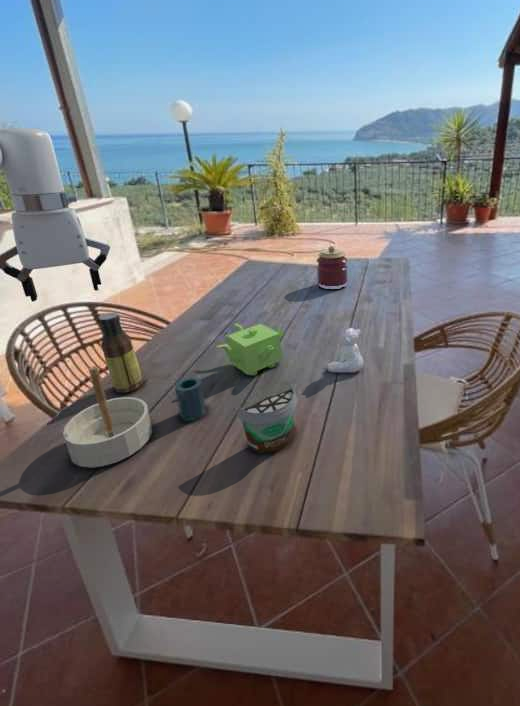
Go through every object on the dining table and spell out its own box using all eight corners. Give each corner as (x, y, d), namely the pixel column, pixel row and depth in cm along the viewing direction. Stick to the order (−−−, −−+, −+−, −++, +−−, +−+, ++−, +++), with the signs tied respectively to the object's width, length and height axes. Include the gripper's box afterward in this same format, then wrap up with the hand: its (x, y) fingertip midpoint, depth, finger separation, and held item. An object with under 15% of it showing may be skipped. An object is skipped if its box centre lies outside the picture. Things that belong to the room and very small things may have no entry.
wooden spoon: (109, 445, 78) (88, 372, 72) (108, 438, 80) (88, 366, 74) (117, 442, 78) (97, 369, 72) (116, 435, 80) (97, 363, 74)
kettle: (221, 381, 100) (215, 342, 96) (235, 353, 113) (230, 318, 110) (280, 379, 101) (276, 340, 97) (286, 352, 114) (284, 317, 110)
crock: (176, 420, 86) (170, 389, 83) (189, 405, 90) (184, 376, 88) (197, 422, 85) (192, 391, 82) (210, 408, 90) (205, 378, 87)
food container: (255, 468, 73) (249, 424, 69) (241, 449, 77) (236, 407, 74) (310, 438, 80) (308, 397, 77) (295, 423, 85) (292, 384, 81)
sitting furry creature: (344, 356, 112) (343, 318, 108) (370, 363, 108) (371, 324, 104) (326, 371, 104) (324, 331, 100) (354, 380, 100) (353, 338, 96)
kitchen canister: (342, 291, 162) (342, 250, 156) (313, 289, 165) (311, 249, 159) (350, 282, 174) (350, 243, 168) (323, 279, 177) (321, 241, 171)
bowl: (52, 465, 74) (43, 439, 72) (109, 416, 87) (103, 394, 85) (119, 474, 71) (111, 448, 69) (167, 423, 85) (162, 400, 83)
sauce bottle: (140, 377, 102) (124, 307, 95) (145, 388, 97) (129, 315, 90) (111, 386, 98) (92, 314, 91) (115, 398, 93) (96, 323, 87)
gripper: (97, 197, 76) (116, 280, 82) (-21, 205, 67) (9, 297, 73) (100, 201, 71) (120, 290, 76) (-29, 210, 61) (5, 310, 67)
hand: (66, 293), depth 75 cm, fingers open, 9 cm apart
